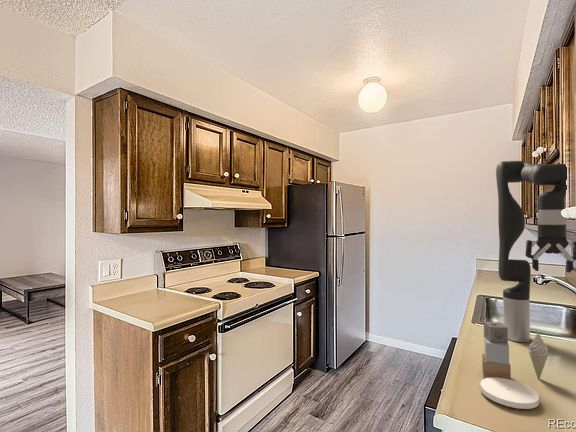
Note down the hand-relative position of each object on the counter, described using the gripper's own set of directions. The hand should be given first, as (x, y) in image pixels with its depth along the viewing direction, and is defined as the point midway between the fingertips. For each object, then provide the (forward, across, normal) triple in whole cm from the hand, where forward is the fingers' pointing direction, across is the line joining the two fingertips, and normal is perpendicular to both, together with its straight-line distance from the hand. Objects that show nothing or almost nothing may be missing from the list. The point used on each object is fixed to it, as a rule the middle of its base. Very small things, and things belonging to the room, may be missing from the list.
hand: (552, 271), depth 109 cm
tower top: (+27, +18, +15) cm, 36 cm away
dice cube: (+22, +18, +14) cm, 31 cm away
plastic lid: (+34, +16, +26) cm, 45 cm away
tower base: (+33, +18, +15) cm, 40 cm away
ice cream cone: (+33, +6, +10) cm, 35 cm away
